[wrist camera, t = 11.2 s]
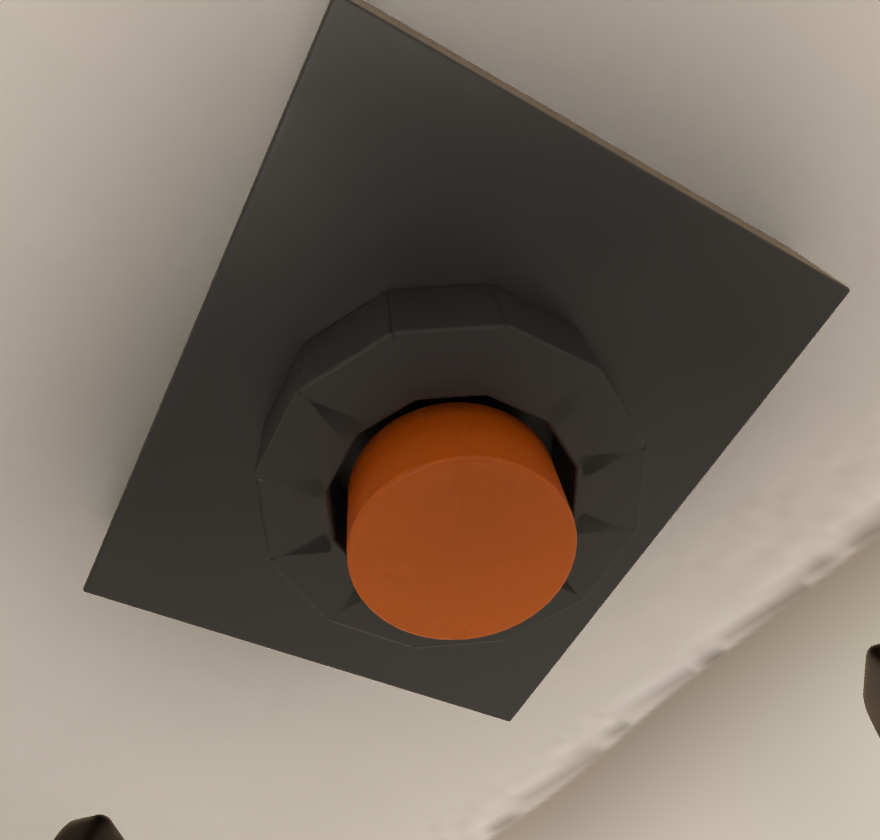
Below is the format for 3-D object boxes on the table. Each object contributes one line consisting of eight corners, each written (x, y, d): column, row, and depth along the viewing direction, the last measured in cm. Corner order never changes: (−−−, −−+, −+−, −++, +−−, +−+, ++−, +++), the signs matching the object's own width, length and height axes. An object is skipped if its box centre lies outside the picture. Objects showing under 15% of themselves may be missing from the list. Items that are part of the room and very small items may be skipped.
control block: (495, 653, 21) (523, 790, 18) (110, 525, 18) (52, 659, 15) (795, 251, 16) (912, 330, 13) (337, -15, 13) (330, -4, 10)
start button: (489, 596, 15) (504, 666, 14) (313, 533, 14) (308, 602, 13) (594, 449, 14) (622, 509, 12) (406, 366, 13) (413, 421, 11)
